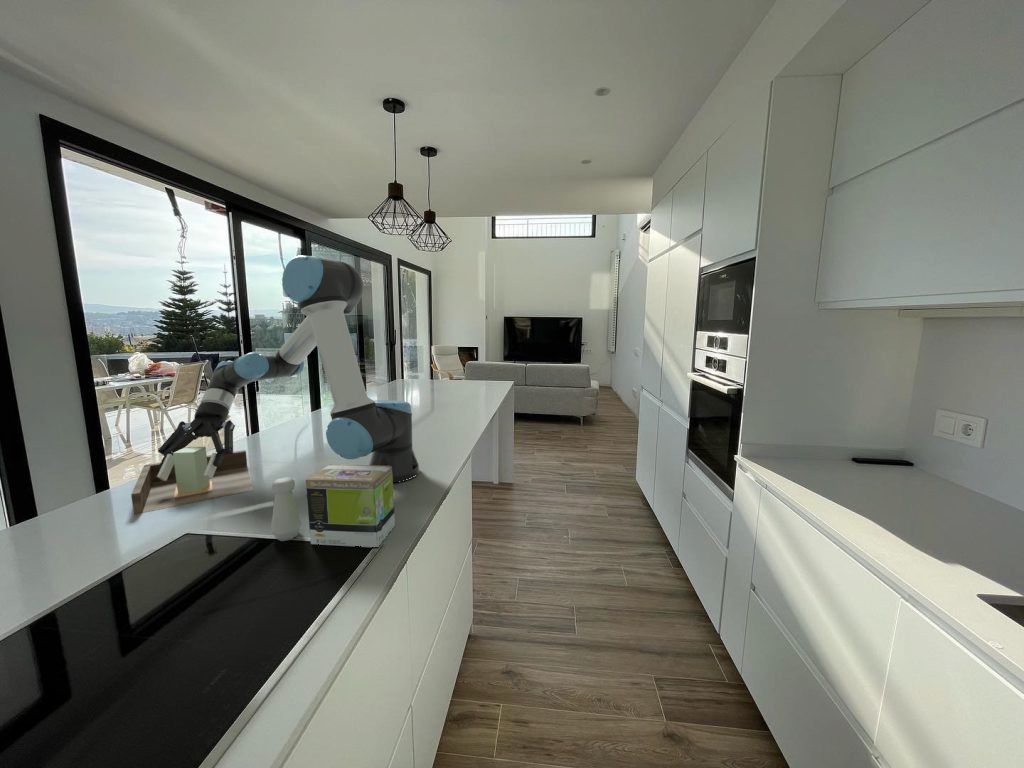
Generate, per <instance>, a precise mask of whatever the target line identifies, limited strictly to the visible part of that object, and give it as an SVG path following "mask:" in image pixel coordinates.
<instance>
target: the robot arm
mask: <svg viewBox="0 0 1024 768" xmlns="http://www.w3.org/2000/svg"><path fill="white" fill-rule="evenodd" d="M281 278H282V279H281V281H282V289H283V291H284V293H285V295H286V296H287V298H289V299H290V300H291V301H293V302H296V303H297V304H298V307H299V310H300V313H301V314H302V315H305V316H306V317H305V318H304V319H303V320H302V322H300V324H299V326H297V328H296V329H295V330H294V331H293V332H292V334H291V335H290V336H289V337H288V339H287V340H286V341H285V343H283V345H282V346H281V347H280V349H278V351H276V353H275V354H267V355H263V354H261V353H258V352H253V351H252V352H248V353H246V354H243V355H241V356H239V357H238V358H237V359H235V360H226V361H225V360H223V361H221V362H219V363H218V364H217V366H216V368H214V370H213V373H212V376H211V377H210V380H209V383H208V384H207V387H206V389H205V391H204V393H203V396H202V398H201V399H200V402H199V403H200V404H199V405H198V407H197V409H196V411H195V412H194V419H193V420H192V421H191V422H185V421H183V420H182V421H179V423H178V425H177V427H176V429H175V430H174V431H173V433H172V434H170V436H169V437H168V438H167V439H166V440H165V441H164V442H163V444H162V445H161V446H160V447H159V448H158V449H157V452H158V453H159V454H161V455H162V456H163V457H162V459H161V462H159V463H160V466H161V469H160V471H159V473H158V476H157V477H158V478H160V479H161V480H163V481H166V480H167V478H168V476H169V474H170V472H171V469H172V467H173V465H174V457H173V453H174V452H176V451H178V450H180V449H183V448H185V447H188V445H190V443H192V442H193V441H196V440H198V439H199V438H205V437H207V438H211V440H212V443H213V446H214V450H215V451H214V452H212V453H211V455H212V456H211V458H210V461H209V463H208V466H207V468H206V471H205V473H204V476H205V477H207V478H208V479H212V478H213V475H214V473H215V470H216V468H217V467H219V466H220V465H221V462H222V460H223V457H224V456H225V455H227V454H232V453H233V452H234V430H235V428H236V425H235V424H234V423H233V422H232V421H231V420H228V421H227V419H228V416H229V414H230V410H231V408H232V405H233V403H234V400H235V398H236V395H237V393H238V390H239V389H241V388H243V387H244V386H246V385H248V384H251V383H252V382H258V381H265V380H271V379H278V378H288V377H289V378H290V377H294V376H296V375H297V376H298V375H300V374H302V372H303V371H304V366H305V362H304V360H306V358H307V357H308V355H310V354H311V352H312V351H313V350H314V349H315V348H316V347H317V350H318V354H319V357H320V360H321V364H322V367H323V371H324V375H325V377H326V381H327V385H328V389H329V392H330V395H331V399H332V402H333V406H332V409H331V410H330V412H329V415H330V418H331V421H330V422H329V423H328V425H327V426H326V430H325V437H326V441H327V444H328V445H329V447H330V449H331V450H332V452H334V454H336V455H338V456H340V458H343V459H346V460H356V459H359V458H360V459H361V458H363V457H366V456H369V455H370V454H371V458H370V461H369V463H368V465H377V466H392V476H393V482H398V483H400V482H399V481H403V480H406V479H409V478H411V477H413V476H415V475H417V474H418V472H419V473H420V466H419V463H418V459H417V457H416V454H415V452H414V449H413V448H414V447H413V425H412V424H413V419H412V416H413V412H412V405H411V404H410V403H409V402H408V401H404V400H396V399H395V400H393V399H392V400H391V399H381V400H380V399H377V400H376V399H375V400H373V399H372V398H370V397H369V396H368V395H367V394H368V393H367V391H366V387H365V384H364V380H363V378H362V373H361V370H360V366H359V363H358V358H357V354H356V351H355V348H354V345H353V341H352V337H351V334H350V331H349V330H350V329H349V327H348V326H349V325H348V323H347V320H346V316H345V315H349V314H350V313H352V311H353V310H354V309H355V307H357V305H358V304H359V303H360V301H361V299H362V296H363V293H364V281H363V278H362V276H361V274H360V273H359V271H358V270H357V269H356V268H355V267H354V266H353V265H352V264H349V263H347V262H344V261H340V260H334V259H327V258H321V257H318V256H315V255H304V254H303V255H301V254H300V255H297V256H294V257H292V259H290V260H289V261H288V263H286V265H285V269H284V270H283V272H282V277H281ZM222 429H223V436H224V437H223V439H224V440H223V441H224V442H223V443H222V440H221V436H220V433H219V432H220V431H221V430H222ZM193 433H194V434H193ZM418 475H419V474H418ZM418 475H417V476H418ZM403 482H404V481H403Z"/></svg>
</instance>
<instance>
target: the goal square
mask: <svg viewBox="0 0 1024 768" xmlns="http://www.w3.org/2000/svg"><path fill="white" fill-rule="evenodd" d="M209 482H210V485H208V486H207V487H205V488H204V489H202V490H201V491H199V492H186V493H178V490H177V487H176V489H175V494H174V498H178V497H183V496H188V495H193V494H199V493H204V492H209V491H212V481H209Z"/></svg>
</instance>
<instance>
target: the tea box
mask: <svg viewBox="0 0 1024 768" xmlns="http://www.w3.org/2000/svg"><path fill="white" fill-rule="evenodd" d="M305 487H306V488H305V489H306V503H307V514H308V527H309V528H308V529H309V535H310V536H309V538H310V540H309V541H310V544H311V545H318V544H319V545H322V546H337V547H339V546H340V547H341V546H342V547H355V546H359V548H372V547H378V548H379V547H380V546H381V544H382V543H383V542H384V541H385V539H386V538H387V537H388V536H389V534H390V533H391V532H392V530H393V529H394V528H393V527H395V523H396V522H395V499H394V496H395V495H394V483H393V476H392V466H377V465H369V464H367V465H366V464H365V465H364V464H333V463H332V464H329V465H326V467H324V468H322V469H320V470H319V471H318V472H317V471H316V472H315V473H314V474H313V475H311V476H309V477H307V478H306V479H305ZM392 528H393V529H392ZM390 531H391V532H390ZM389 532H390V533H389ZM388 533H389V534H388ZM386 536H387V537H386ZM383 540H384V541H383ZM382 541H383V542H382ZM379 545H380V546H379ZM360 546H361V547H360Z"/></svg>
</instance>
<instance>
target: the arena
mask: <svg viewBox="0 0 1024 768" xmlns="http://www.w3.org/2000/svg"><path fill="white" fill-rule="evenodd" d="M211 456H212V454H211V455H207V464H208V463H209V461H210V458H211ZM160 463H161V462H158V463H151V464H144V465H143V467H142V469H141V471H140V474H139V477H138V478H137V480H136V483H135V484H134V487H133V489H132V492H131V494H130V495H131V502H132V510H133V515H140V514H144V513H148V512H154V511H159V510H164V509H168V508H174V507H178V506H179V507H180V506H184V505H188V504H193V503H198V502H203V501H209V500H213V499H218V498H219V499H220V498H223V497H224V498H225V497H229V496H233V495H238V494H243V493H244V494H245V493H248V492H254V491H255V490H254V488H253V483H252V479H251V475H250V472H249V467H248V459H247V451H246V450H245V449H243V450H238V451H233V453H232V454H227V455H225V456H224V457H223V460H222V462H221V465H220V466H219V467H217V468H216V470H215V473H214V475H213V478H212V479H209V481H212V491H209V492H204V493H199V494H193V495H188V496H183V497H178V498H174V494H175V489H176V487H177V482H176V474H175V465H173V467H172V469H171V472H170V474H169V476H168V478H167V480H166V481H163V480H161V479H160V478H158V477H157V476H158V473H159V471H160V469H161V466H160Z"/></svg>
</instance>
